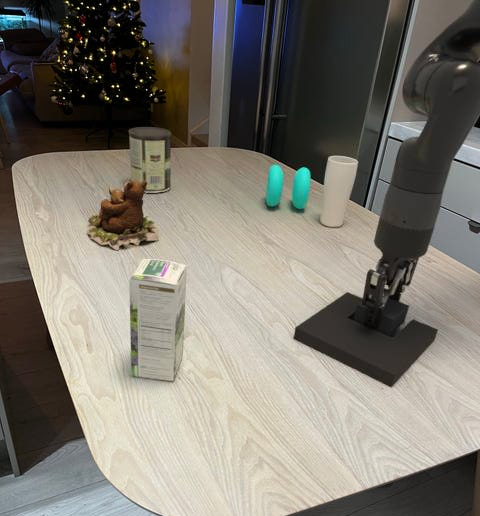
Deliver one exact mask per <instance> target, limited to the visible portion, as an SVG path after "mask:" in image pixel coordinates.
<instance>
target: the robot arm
mask: <svg viewBox="0 0 480 516" xmlns="http://www.w3.org/2000/svg"><path fill="white" fill-rule="evenodd" d="M403 80H404V81H403V85H402V90H401V95H402V96H401V97H402V100H403V102H404V105H405V106H406V108H407V109H408V110H409V111H410V112H412V113H414V114H416V115H418V116H422V117H425V118H427V120H426V122H425V124H424V126H423V128H422V131H420V134H419V135H418V136H411V137H407V138H406V139H404V140H403V141H402V142H401V143H400V145H399V147H398V150H397V153H396V157H395V161H394V164H393V165H394V166H393V169H392V172H391V177H390V181H389V185H388V187H387V190H386V193H385V195H384V199H383V202H382V207H381V211H380V214H379V219H378V223H377V227H376V229H375V230H376V231H375V235H374V239H373V243H374V246H375V247H376V248H377V249H378V250H379V251H380V252H381V254H382V255H381V257H380V258H379V259H378V261H377V263H376V266H375V269H372V268H370V269H369V270H368V271H367V273H366V277H365V283H364V289H363V294H362V298H363V299H362V304H363V305H365V306H367V307H368V308H367V312H366V316H365V319H364V325H365V326H367V327H369V328H372V329H374V330H376V329H377V328H378V327H379V323H380V320H381V316H382V313H383V310H384V307H385V304H386V302H387V300H388V298H391V299H393V300H396V301H399V302H401V297H402V294H404V293H405V292H406V288H407V287H409V286H410V285H411V283H412V279H413V277H414V274H415V271H416V269H417V265H418V263H419V260H420V258H421V257H423V256H425V255H426V254H427V252H428V250H429V246H430V243H431V241H432V237H433V234H434V230H435V227H436V223H437V221H438V217H439V214H440V211H441V206H442V201H443V195H444V190H445V188H446V186H447V185H446V184H447V182H448V178H449V176H450V175H449V174H450V172H451V168H452V164H453V161H454V160H455V158H456V156H457V155H458V152H459V151H461V148H462V146H463V145H464V143H465V141H466V140H467V138H468V136H469V135H470V133H471V131H472V130H473V129H474V126H475V124H476V122H477V121H478V119H479V118H480V0H470V2H469V3H468V5H467V6H466V8H465V9H464V10H463V11H462V13H461V14H459V16H457V17H456V18H455V19H454V20H453V21H452V22H450V23H449V24H448V25H447V26H446V27H445V28H444V29H443V30H442V31H441V32H440V33H439V34H437V36H436V37H435V38H434V39H433V40H432V41H431V42H430V43H429V44H427V46H426V47H425V48H424V49H423V50H422V51H421V52H420V53H419V54H418V56H417V57H416V58H415V60H414V61H413V62H412V64H411V66H410V67H409V69H408V70H407V72H406V75H405V78H404V79H403ZM386 286H387V288H386ZM374 297H376V299H375V298H374Z"/></svg>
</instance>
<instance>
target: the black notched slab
mask: <svg viewBox="0 0 480 516" xmlns="http://www.w3.org/2000/svg"><path fill="white" fill-rule="evenodd" d="M362 299H363V297H360V296H358V295H356V294H353V293H351V292H349V291H346V292H345V293H344V294H342V295H341V296H339V297H338V298H337V299H335V300H333V301H332V302H330V303H329V304H328V305H326V306H324V307H322V308H321V309H320V310H319V311H317V312H316V313H314V314H313V315H311V316H310V317H309V318H307V319H306V320H304V321H303V322H301V323H299V324H298V325H297V326H295V328H294V333H293V339H294V340H296V341H298V342H300V343H302V344H304V345H306V346H308V347H310V348H313V349H314V350H316V351H318V352H320V353H322V354H324V355H326V356H328V357H331V358H332V359H334V360H336V361H339V362H341V363H342V364H344V365H347V366H348V367H350V368H352V369H354V370H356V371H358V372H360V373H362V374H365V375H366V376H369V377H371V378H373V379H374V380H376V381H379V382H381V383H383V384H385V385H386V386H389V387H392V388H393V386H394V385H395V383H396V382H397V381H399V379H400V378H401V377H402V376H403V375H404V374H405V373H406V372H407V371H408V370H409V369H410V367H411V366H412V365H414V363H415V362H416V361H417V360H418V359H419V358H420V357H421V355H422V354H423V353H424V352H425V351H426V350H427V348H429V346H431V344H432V343H433V342H434V341H435V340H436V337H437V334H438V331H439V329H438V328H436V327H433V326H430V325H429V324H427V323H424V322H422V321H418V320H416V319H414V318H412V319H411V320H410V321H409V322H407V324H406V325H405V326H403V327H402V328H401V329H399V331H398V332H397V333H396V334H395V335H394V336H393V337H392V336H391V335H390V336H387V335H385V334H383V333H381V332H378V331H376V330H374V329H372V328H369V327H367V326H365V325H362V324H360V323H358V322H356V321H353V320H354V316H355V312H356V308H357V304H359V303H360V302H361V301H362Z"/></svg>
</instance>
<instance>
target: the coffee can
mask: <svg viewBox="0 0 480 516" xmlns="http://www.w3.org/2000/svg"><path fill="white" fill-rule="evenodd" d="M128 134H129V135H128V136H129V137H128V138H129V157H130V158H129V161H130V181H138V182H140V183H142V182H143V181H144V180H145V181H146V182H147V185H146V187H145V191H144V192H147V193H155V192H156V193H157V192H164V191H167V190H169V189H170V188H171V189H172V187H171V186H172V185H171V184H172V183H171V181H172V180H171V176H172V175H171V174H172V173H171V168H172V167H171V161H172V160H171V156H172V154H171V151H172V149H171V148H172V147H171V142H172V141H171V137H172V132H171V131H170V130H168V129H166V128H163V127H153V126H138V127H132V128H130V129H129V130H128ZM171 189H170V190H171ZM170 190H169V191H170ZM167 192H168V191H167ZM147 193H146V194H147ZM164 193H165V192H164Z"/></svg>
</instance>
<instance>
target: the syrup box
mask: <svg viewBox="0 0 480 516" xmlns="http://www.w3.org/2000/svg"><path fill="white" fill-rule="evenodd" d="M187 270H188V266H187V265H186V264H185V263H184V264H183V263H180V262H175V261H171V260H165V259H155V258H142V260H141V262H140V264H139V265H138V266H137V268H136V269H135V270H134V272H133V274H132V275H131V277H130V279H129V282H128V283H129V285H128V286H129V331H130V333H129V334H130V368H131V369H130V374H131V376H132V377H135V378H136V377H137V378H142V379H143V378H144V379H151V380H152V379H153V380H159V381H167V382H174V381H175V379H176V376H177V374H178V370H179V368H180V365H181V362H182V359H183V356H184V338H185V334H184V333H185V319H186V316H185V315H186V296H187V295H186V293H187V274H188V273H187Z"/></svg>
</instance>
